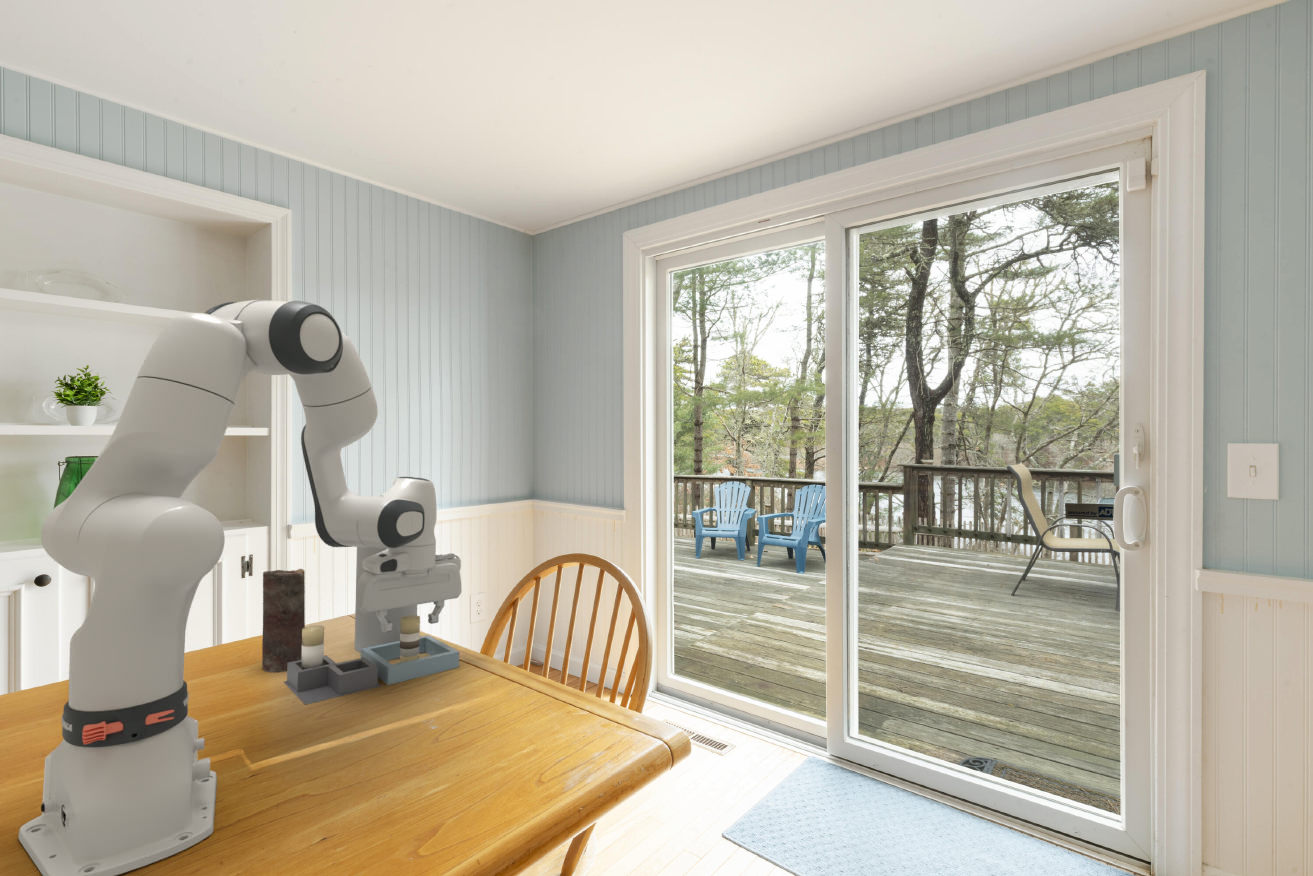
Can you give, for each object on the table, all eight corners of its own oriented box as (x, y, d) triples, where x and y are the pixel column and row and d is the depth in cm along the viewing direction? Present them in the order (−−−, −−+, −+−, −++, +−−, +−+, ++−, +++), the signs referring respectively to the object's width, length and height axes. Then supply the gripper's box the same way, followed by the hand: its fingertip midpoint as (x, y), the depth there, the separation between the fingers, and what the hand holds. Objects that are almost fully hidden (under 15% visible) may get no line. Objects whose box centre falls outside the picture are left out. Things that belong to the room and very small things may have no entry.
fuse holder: (380, 691, 117) (381, 666, 117) (305, 710, 108) (305, 684, 108) (354, 671, 127) (355, 648, 127) (283, 687, 118) (283, 662, 118)
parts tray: (458, 672, 128) (459, 651, 128) (388, 690, 118) (388, 667, 118) (428, 654, 138) (428, 635, 138) (360, 669, 128) (360, 648, 128)
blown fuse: (422, 668, 128) (423, 617, 128) (403, 672, 125) (405, 621, 125) (414, 663, 130) (415, 614, 130) (396, 667, 128) (397, 617, 128)
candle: (251, 674, 124) (254, 571, 124) (283, 662, 131) (286, 564, 131) (282, 679, 122) (285, 574, 122) (313, 666, 129) (316, 567, 129)
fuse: (325, 682, 118) (326, 628, 118) (304, 687, 115) (305, 632, 116) (319, 677, 121) (320, 624, 121) (298, 682, 118) (299, 627, 118)
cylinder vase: (341, 653, 137) (343, 536, 137) (386, 637, 148) (388, 529, 148) (385, 662, 132) (388, 541, 132) (428, 645, 144) (431, 533, 144)
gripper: (453, 550, 137) (452, 614, 137) (353, 561, 123) (352, 633, 123) (467, 554, 133) (466, 621, 133) (365, 566, 118) (364, 641, 118)
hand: (410, 627), depth 128 cm, fingers open, 8 cm apart
